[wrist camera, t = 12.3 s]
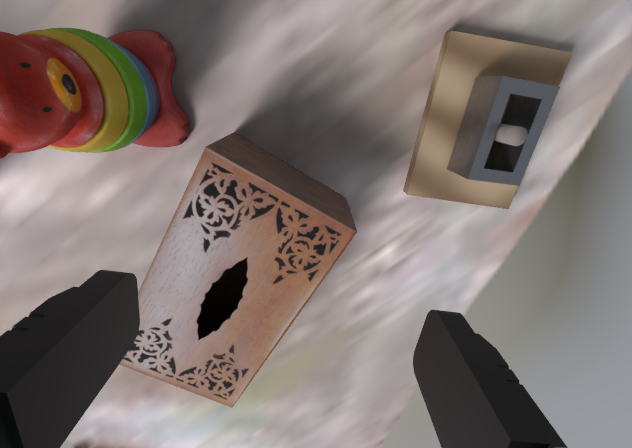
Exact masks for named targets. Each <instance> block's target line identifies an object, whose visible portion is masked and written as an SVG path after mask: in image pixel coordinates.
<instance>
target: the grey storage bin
mask: <svg viewBox="0 0 632 448" xmlns="http://www.w3.org/2000/svg"><path fill="white" fill-rule="evenodd" d="M559 88H560V87H558V86H553V85H548V84H542V83H537V82H532V81H527V80H522V79H517V78H512V77H506V76H490V77H475V81H474V84H473V87H472V90H471V93H470V97H469V100H468V103H467V106H466V109H465V112H464V116H463V119H462V122H461V125H460V128H459V132H458V135H457V138H456V141H455V144H454V148H453V151H452V154H451V157H450V160H449V163H448V167H447V170H449V171H451V172H453V173H456V174H458V175H460V176H462V177H464V178H466V179H469V180H477V181H485V182H492V183H500V184H508V185H516V186H519V185H520V182H521V180H522V178H523V175H524V173H525V170H526V168H527V165H528V163H529V161H530V158H531V156H532V153H533V151H534V148H535V146H536V144H537V141H538V139H539V136H540V134H541V131H542V129H543V126H544V124H545V122H546V119H547V117H548V114H549V112H550V109H551V107H552V105H553V102H554V100H555V97H556V95H557V92H558V90H559ZM509 98H511V99H510V102H509V105H508V107H507V110H506V113H505V116H504V118H503V121H502V124H506V125H512V126H519V127H523V128H525V129H526V130H527V133H528V136H527V139H526V141H525V142H524V143H523V144H521V145H519V146H512V145H509V144H505V143H501V142H497V141H495V143H494V146H493V149H492V152H491V154H490V157H489V160H488V163H486V160H487V157H488V155H489V152H490V149H491V146H492V143H493V141H494V138H495V135H496V132H497V129H498V127H499V124H500V121H501V118H502V115H503V113H504V110H505V107H506V104H507V102H508V99H509Z"/></svg>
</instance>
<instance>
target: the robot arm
mask: <svg viewBox="0 0 632 448" xmlns="http://www.w3.org/2000/svg"><path fill="white" fill-rule="evenodd" d="M139 327H140V313H139V301H138V288H137V279H136V276H135V275H134V274H133V273H124V272H116V271H107V270H100V271H98V272H97V273H95V274H94V275H93V276H92V277H90V278H89V279H88V280H87V281H86V282H84V283H83V284H82V285H81V286H80V287H72V288H70V289H68V290H66V291H64V292H62V293H59V294H57V295H55V296H53V297H51V298H49V299H48V300H46V301H45V302H44V303H42V304H41V305H40V306H39V307H37V308H36V309H35V310H33V311H32V312H31V313H30V315H29V317H25V318H23V319H22V320H21V321H19V322H18V323H17V324H16V325H14V326H13V328H12V330H11V331H9V330H8V331H7V332H5V333H4V334H3V335H2V336H0V448H60V447H61V445H62V444H63V442H64V441H65V440H66V438H67V437H68V435H69V434H70V432H71V431H72V430H73V428H74V427H75V425H76V424H77V423H78V421H79V420H80V418H81V417H82V416H83V414H84V413H85V411H86V410H87V409H88V407H89V406H90V404H91V403H92V402H93V400H94V399H95V397H96V396H97V394H98V393H99V392H100V390H101V389H102V387H103V386H104V385H105V383H106V382H107V380H108V379H109V378H110V376H111V375H112V373H113V372H114V371H115V369H116V368H117V366H118V365H119V363H120V362H121V361H122V359H123V358H124V356H125V355H126V354H127V352H128V351H129V349H130V348H131V347H132V345H133V343H134V342H135V340H136V337H137V335H138V331H139ZM413 366H414V373H415V376H416V379H417V382H418V384H419V387H420V390H421V393H422V395H423V398H424V401H425V403H426V406H427V409H428V412H429V414H430V417H431V420H432V422H433V425H434V428H435V431H436V433H437V436H438V439H439V442H440V444H441V447H442V448H567V446H566V445H565V444H564V442H563V441H562V439H561V438H560V437H559V435H558V434H557V432H556V431H555V430H554V428H553V427H552V426H551V424H550V423H549V421H548V420H547V419H546V417H545V416H544V414H543V413H542V412H541V410H540V409H539V408H538V406H537V405H536V403H535V402H534V401H533V399H532V398H531V396H530V395H529V394H528V392H527V391H526V390H525V388H524V387H523V385H520V384H519V380H518V378H517V377H516V376H515V374H514V373H513V371H512V370H510V369H509V366H508V364H507V363H506V362H505V360H504V359H503V358H502V356H501V355H500V353H499V352H498V351H497V349H496V348H495V347H493V346H492V345H491V344H490V343H489V342H488V341H487V340H485V339H484V338H483V337H482V336H481V335H479V334H476V333H474V331H473V330H472V328H471V327H470V325H469V324H468V322H467V321H466V319H465V318H464V317H463V315H462V314H460V313H456V312H448V311H439V310H431V311H430V312H429V313H428V314H427V317H426V320H425V323H424V325H423V328H422V331H421V334H420V337H419V340H418V343H417V345H416V348H415V351H414V357H413Z"/></svg>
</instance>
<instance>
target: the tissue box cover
mask: <svg viewBox="0 0 632 448" xmlns="http://www.w3.org/2000/svg"><path fill="white" fill-rule="evenodd" d="M356 233H357V230H356V227H355V224H354V221H353V218H352V215H351V212H350V209H349V206H348V203H347V200H346V198H345V197H343V196H342V195H340V194H338V193H336V192H335V191H333V190H331V189H330V188H328V187H326V186H324V185H323V184H321V183H319V182H318V181H316V180H314V179H312V178H311V177H309V176H307V175H306V174H304V173H302V172H301V171H299V170H297V169H295V168H294V167H292V166H290V165H289V164H287V163H285V162H283V161H282V160H280V159H278V158H277V157H275V156H273V155H271V154H270V153H268V152H266V151H265V150H263V149H261V148H259V147H258V146H256V145H254V144H253V143H251V142H249V141H247V140H246V139H244V138H242V137H241V136H239V135H237V134H235V133H232V134H230V135H228V136H226V137H224V138H222V139H220V140H218V141H216V142H214V143H212V144H210V145H208V146H206V147H205V150H204V152H203V154H202V156H201V158H200V160H199V163H198V165H197V167H196V169H195V171H194V173H193V176H192V178H191V180H190V182H189V184H188V186H187V189H186V191H185V193H184V195H183V197H182V199H181V202H180V204H179V206H178V208H177V210H176V212H175V215H174V217H173V219H172V221H171V223H170V225H169V228H168V230H167V232H166V234H165V236H164V238H163V241H162V243H161V245H160V247H159V249H158V251H157V254H156V256H155V258H154V260H153V262H152V264H151V267H150V269H149V271H148V273H147V275H146V277H145V280H144V282H143V284H142V286H141V288H140V290H139V293H138V301H139V313H140V327H139V331H138V335H137V337H136V340H135V342H134V343H133V345H132V347H131V348H130V349H129V351H128V352H127V354H126V355H125V356H124V358H123V359H122V361H121V362H120V363H119V364H120V365H122V366H125V367H128V368H130V369H133V370H135V371H138V372H141V373H143V374H146V375H148V376H151V377H154V378H156V379H159V380H161V381H164V382H167V383H169V384H172V385H174V386H177V387H180V388H182V389H185V390H187V391H190V392H193V393H195V394H198V395H200V396H203V397H206V398H208V399H211V400H213V401H216V402H219V403H221V404H224V405H226V406H229V407H233V406H234V404H235V403H236V402H237V400H238V399H239V397H240V396H241V395H242V393H243V392H244V390H245V389H246V387H247V386H248V385H249V383H250V382H251V380H252V379H253V378H254V376H255V375H256V373H257V372H258V371H259V369H260V368H261V366H262V365H263V364H264V362H265V361H266V359H267V358H268V356H269V355H270V354H271V352H272V351H273V349H274V348H275V347H276V345H277V344H278V342H279V341H280V340H281V338H282V337H283V335H284V334H285V333H286V331H287V330H288V328H289V327H290V326H291V324H292V323H293V321H294V320H295V318H296V317H297V316H298V314H299V313H300V311H301V310H302V309H303V307H304V306H305V304H306V303H307V302H308V300H309V299H310V297H311V296H312V295H313V293H314V292H315V290H316V289H317V288H318V286H319V285H320V283H321V282H322V280H323V279H324V278H325V276H326V275H327V273H328V272H329V271H330V269H331V268H332V266H333V265H334V264H335V262H336V261H337V259H338V258H339V257H340V255H341V254H342V252H343V251H344V249H345V248H346V247H347V245H348V244H349V242H350V241H351V240H352V238H353V237H354V235H355V234H356ZM197 322H198V323H197ZM200 323H201V324H200ZM202 324H203V325H202ZM204 325H205V326H204ZM206 326H207V327H206ZM209 327H210V328H209ZM211 328H212V329H211ZM213 329H214V330H213ZM216 330H217V331H216Z"/></svg>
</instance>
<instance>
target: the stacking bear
mask: <svg viewBox="0 0 632 448" xmlns="http://www.w3.org/2000/svg"><path fill="white" fill-rule="evenodd" d="M175 64H176V58H175V55H174V53H173V47H172V45H171V43H170V42H169V41H167V40H165V39H164V37H163V36H162V35H161V34H159V33H157V32H155V31H149V30H137V31H128V32H124V33H119V34H117V35H114V36H111V37H109V38H105V37H103V36H100V35H98V34H95V33H92V32H89V31H86V30H81V29H73V28H51V29H46V30H36V31H30V32H26V33H23V34H20V35H17V36H16V35H12V34H9V33H4V32H0V158H3V157H5V156H6V155H7V154H8V153H22V152H29V151H34V150H37V149H41V148H44V147H47V146H49V147H52V148H55V149H59V150H64V151H72V152H93V153H95V152H107V151H113V150H117V149H120V148H123V147H125V146H127V145H129V144H131V143H135V144H138V145H143V146H149V147H171V146H177V145H180V144H182V143H183V142H184V141H185V137H187V136H188V135H189V132H190V131H189V128H188V125H189V121H188V118H187V116H186V115H185V113H184V112H183V111H182V110H181V108H180V107H179V106H178V104H177V102H176V100H175V98H174V95H173V91H172V83H171V81H172V74H173V71H174V68H175Z"/></svg>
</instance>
